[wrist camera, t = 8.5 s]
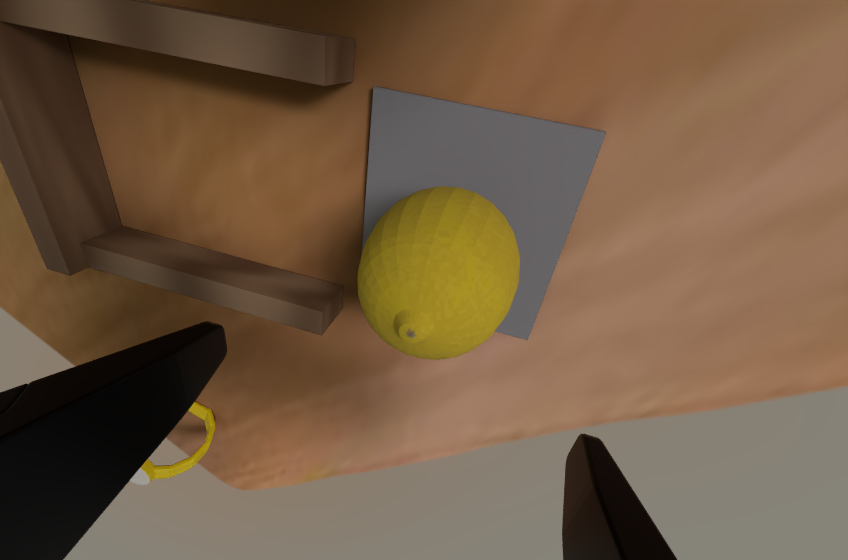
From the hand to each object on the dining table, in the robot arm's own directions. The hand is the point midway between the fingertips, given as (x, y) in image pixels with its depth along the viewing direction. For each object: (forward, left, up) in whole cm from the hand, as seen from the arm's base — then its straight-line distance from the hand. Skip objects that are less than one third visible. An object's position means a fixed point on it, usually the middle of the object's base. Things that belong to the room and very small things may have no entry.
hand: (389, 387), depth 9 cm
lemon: (0, 0, -10) cm, 10 cm away
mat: (0, 0, -10) cm, 10 cm away
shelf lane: (+12, 0, -10) cm, 16 cm away
